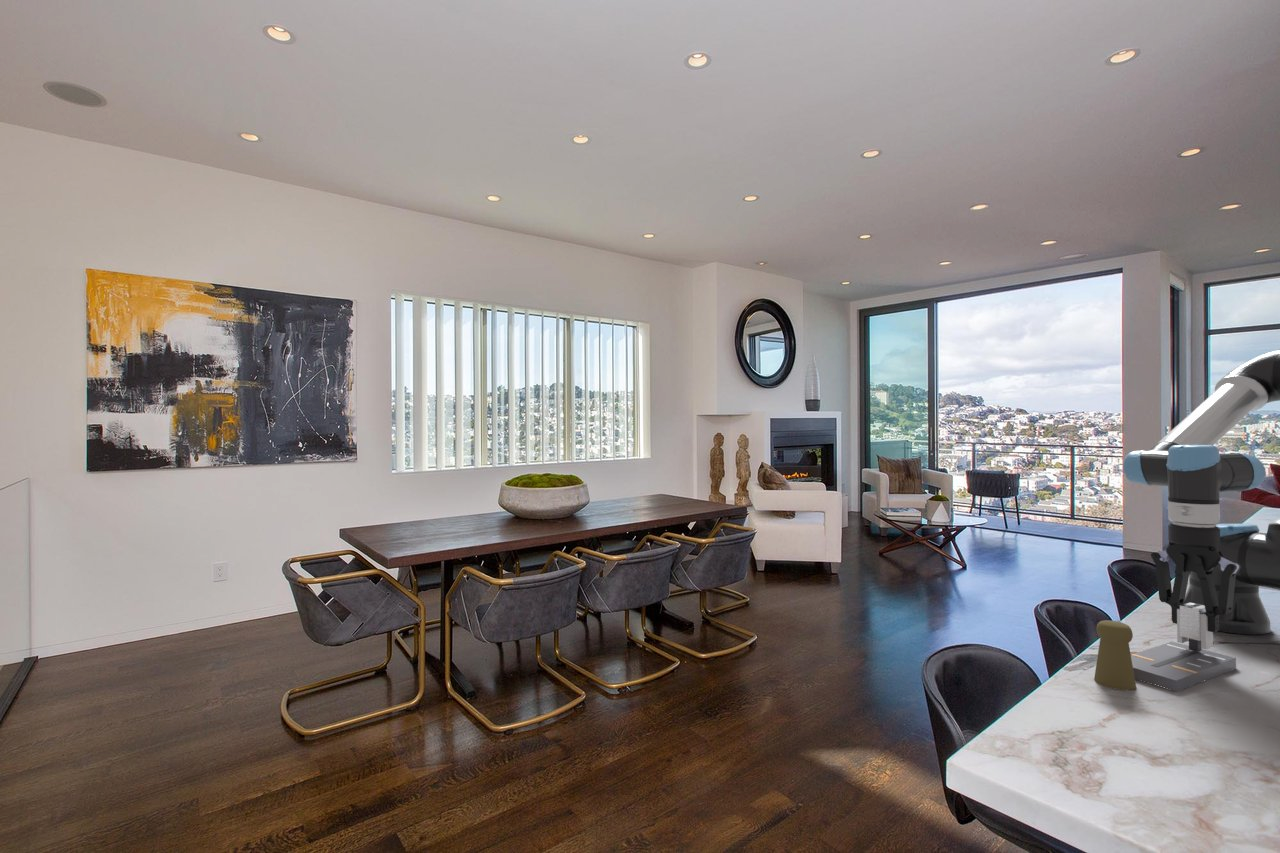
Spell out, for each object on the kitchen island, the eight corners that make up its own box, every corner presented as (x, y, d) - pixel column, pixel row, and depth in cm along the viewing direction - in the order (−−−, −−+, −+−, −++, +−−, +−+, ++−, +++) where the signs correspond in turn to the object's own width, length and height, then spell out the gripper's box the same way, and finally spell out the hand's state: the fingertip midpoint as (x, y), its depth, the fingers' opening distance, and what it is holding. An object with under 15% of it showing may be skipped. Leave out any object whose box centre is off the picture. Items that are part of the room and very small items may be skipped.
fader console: (1172, 651, 126) (1171, 641, 126) (1236, 668, 117) (1235, 657, 117) (1111, 671, 116) (1111, 660, 116) (1176, 692, 107) (1176, 680, 107)
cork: (1091, 683, 111) (1091, 622, 111) (1096, 673, 115) (1095, 614, 115) (1134, 693, 107) (1133, 630, 107) (1137, 682, 111) (1137, 621, 111)
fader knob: (1190, 645, 122) (1190, 602, 122) (1210, 650, 119) (1209, 606, 119) (1180, 649, 120) (1179, 605, 120) (1199, 654, 118) (1198, 609, 117)
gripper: (1135, 520, 125) (1136, 635, 125) (1238, 532, 111) (1240, 661, 111) (1154, 517, 129) (1155, 629, 129) (1257, 528, 114) (1259, 654, 114)
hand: (1195, 644), depth 120 cm, fingers closed on fader knob, 3 cm apart
